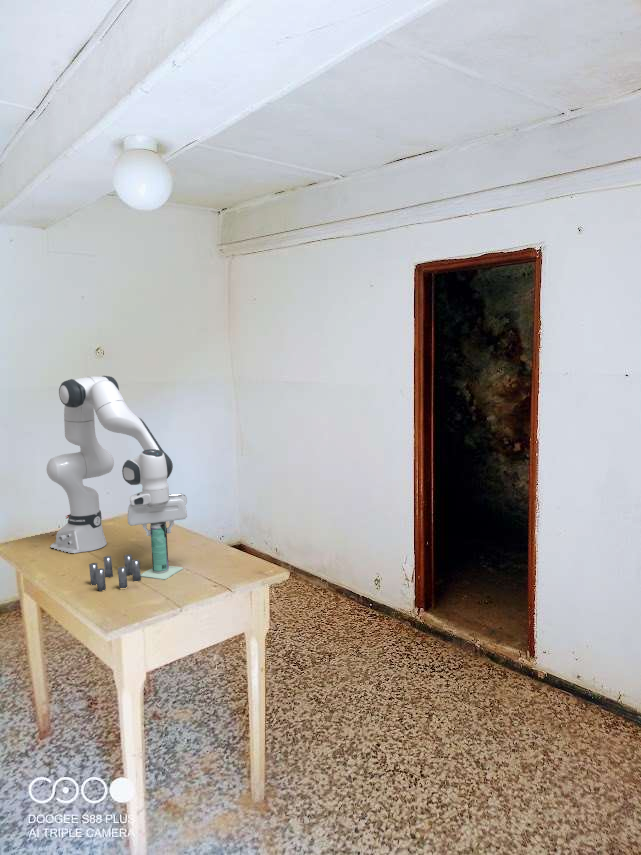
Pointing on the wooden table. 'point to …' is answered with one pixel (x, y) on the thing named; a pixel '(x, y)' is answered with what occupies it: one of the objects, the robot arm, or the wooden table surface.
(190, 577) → the wooden table surface
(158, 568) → the spray can
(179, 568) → the mat
